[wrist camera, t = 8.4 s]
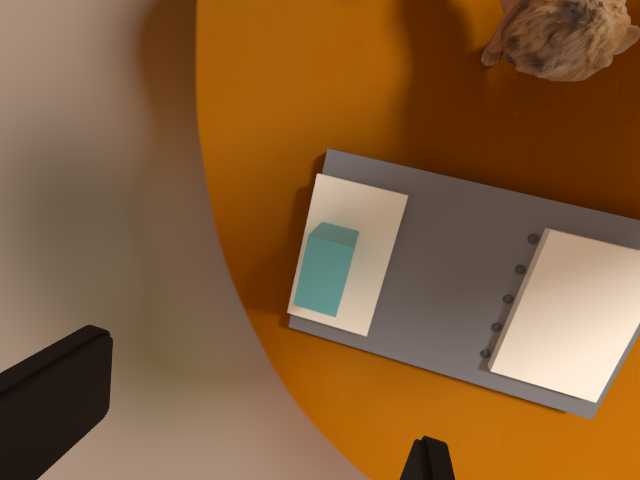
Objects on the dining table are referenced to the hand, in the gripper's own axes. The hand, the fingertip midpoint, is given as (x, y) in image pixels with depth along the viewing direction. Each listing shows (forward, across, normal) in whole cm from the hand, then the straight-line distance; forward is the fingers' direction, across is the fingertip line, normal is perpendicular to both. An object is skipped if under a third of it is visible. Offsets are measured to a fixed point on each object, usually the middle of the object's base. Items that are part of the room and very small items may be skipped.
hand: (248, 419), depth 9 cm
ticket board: (+20, -10, 0) cm, 23 cm away
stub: (+18, -1, 0) cm, 18 cm away
